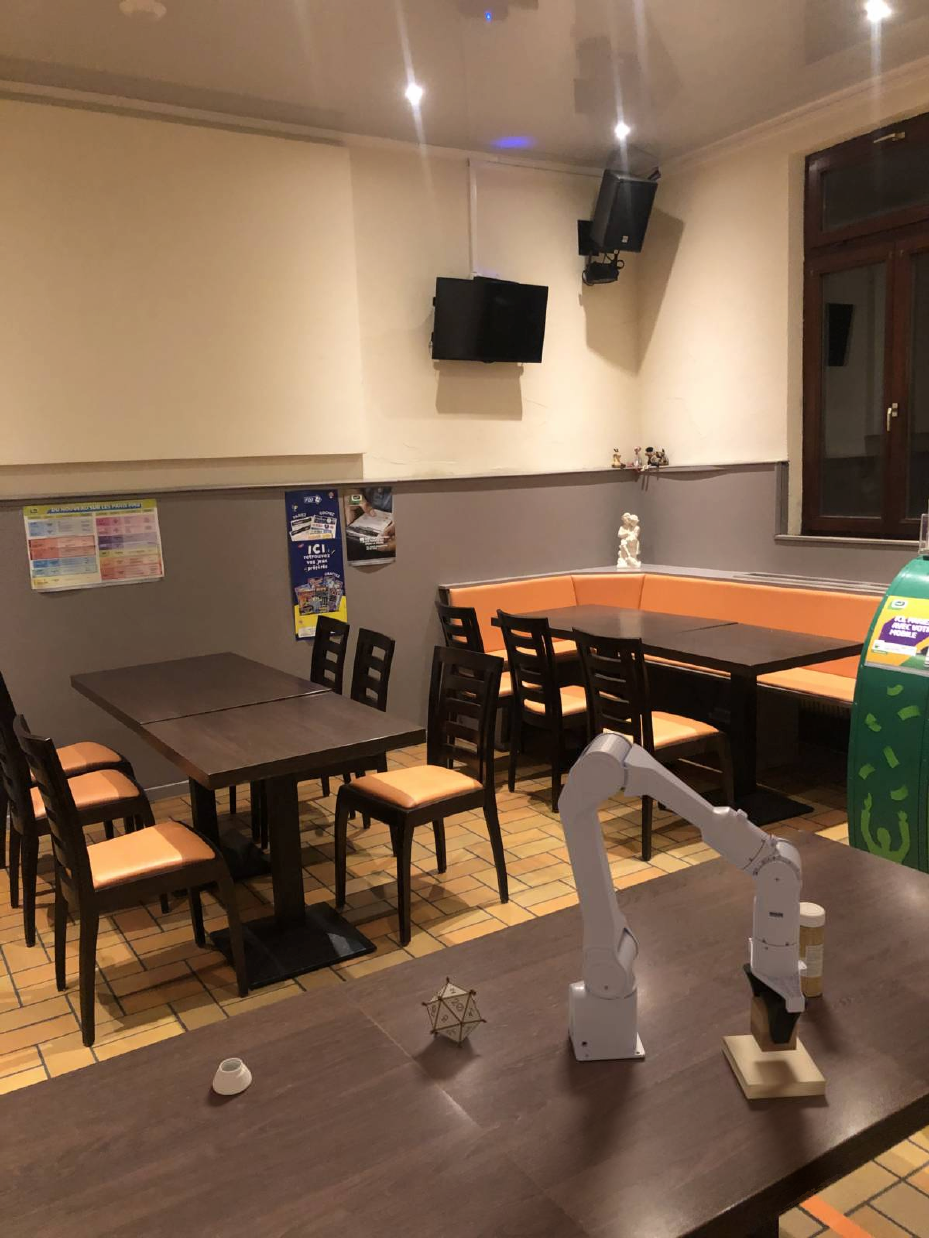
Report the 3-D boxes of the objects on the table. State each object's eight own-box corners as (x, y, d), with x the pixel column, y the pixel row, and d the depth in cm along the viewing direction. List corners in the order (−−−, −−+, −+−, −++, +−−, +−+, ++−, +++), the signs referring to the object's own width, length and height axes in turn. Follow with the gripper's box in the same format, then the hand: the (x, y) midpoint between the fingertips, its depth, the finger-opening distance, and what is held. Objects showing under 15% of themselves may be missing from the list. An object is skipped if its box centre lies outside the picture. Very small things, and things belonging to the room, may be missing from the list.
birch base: (747, 1098, 118) (748, 1084, 118) (723, 1049, 128) (723, 1036, 128) (824, 1094, 119) (825, 1080, 118) (794, 1045, 129) (794, 1032, 128)
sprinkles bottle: (785, 982, 144) (787, 902, 141) (813, 980, 144) (816, 899, 142) (798, 999, 139) (801, 916, 137) (827, 997, 140) (831, 914, 137)
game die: (469, 1058, 134) (509, 1013, 131) (429, 1067, 128) (470, 1019, 125) (438, 1005, 140) (476, 961, 137) (399, 1011, 133) (437, 964, 131)
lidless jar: (205, 1092, 123) (237, 1100, 121) (203, 1072, 123) (236, 1080, 121) (227, 1069, 128) (258, 1076, 126) (225, 1050, 127) (257, 1057, 126)
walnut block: (762, 1051, 120) (762, 1016, 120) (750, 1030, 125) (750, 997, 124) (796, 1049, 121) (797, 1014, 120) (783, 1028, 125) (784, 995, 124)
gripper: (830, 963, 113) (826, 1063, 115) (784, 906, 127) (782, 996, 130) (773, 966, 113) (770, 1066, 115) (734, 909, 127) (732, 999, 130)
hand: (773, 1029), depth 122 cm, fingers closed on walnut block, 4 cm apart
